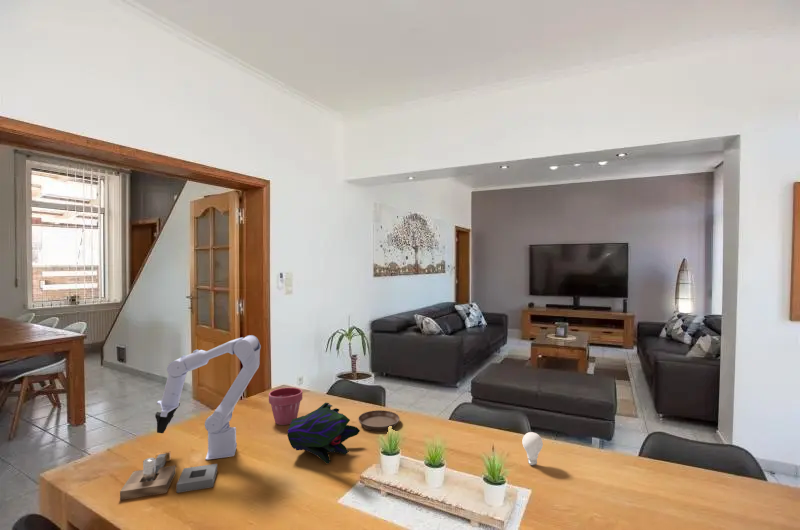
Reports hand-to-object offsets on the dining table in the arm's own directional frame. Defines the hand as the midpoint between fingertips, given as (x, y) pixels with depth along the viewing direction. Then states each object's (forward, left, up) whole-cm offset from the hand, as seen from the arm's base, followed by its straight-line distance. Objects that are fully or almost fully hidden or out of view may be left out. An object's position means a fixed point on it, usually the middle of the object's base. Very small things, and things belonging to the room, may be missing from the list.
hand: (163, 427), depth 145 cm
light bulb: (-122, +47, -10) cm, 131 cm away
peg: (-1, +21, -10) cm, 24 cm away
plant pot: (-43, -19, -10) cm, 48 cm away
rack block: (-15, +23, -10) cm, 29 cm away
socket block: (-1, +21, -10) cm, 23 cm away
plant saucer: (-81, -3, -10) cm, 82 cm away
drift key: (-1, +10, -10) cm, 14 cm away
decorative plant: (-57, +18, -10) cm, 61 cm away
